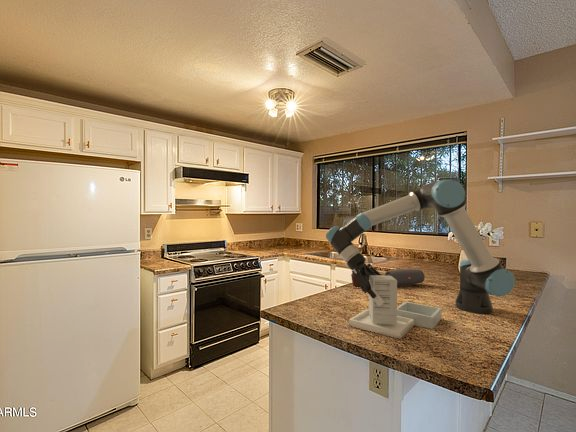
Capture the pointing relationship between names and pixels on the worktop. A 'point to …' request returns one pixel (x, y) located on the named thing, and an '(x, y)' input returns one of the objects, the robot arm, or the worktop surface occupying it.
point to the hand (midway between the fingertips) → (388, 300)
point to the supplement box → (388, 293)
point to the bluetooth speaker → (407, 276)
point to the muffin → (355, 281)
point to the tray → (382, 325)
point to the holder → (420, 314)
